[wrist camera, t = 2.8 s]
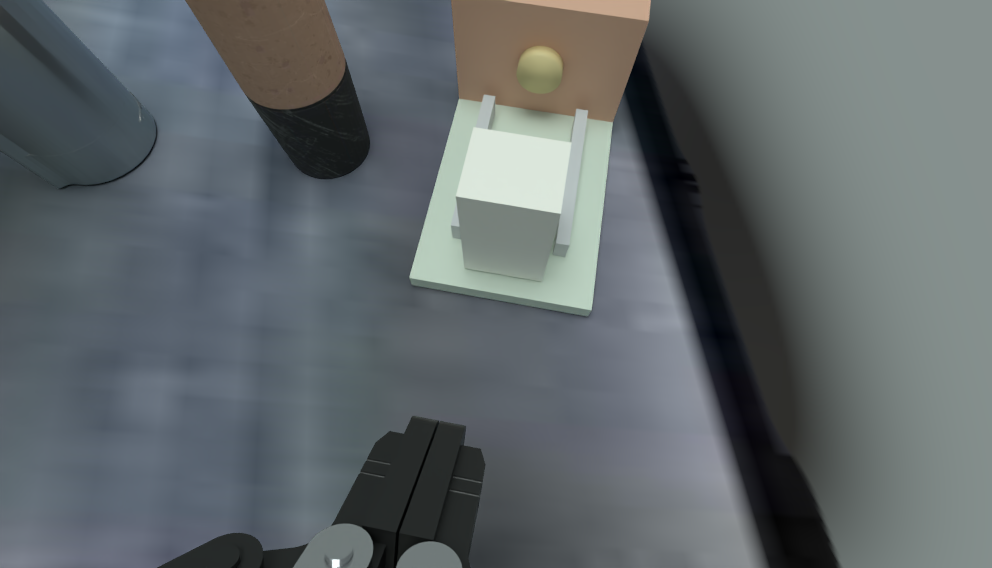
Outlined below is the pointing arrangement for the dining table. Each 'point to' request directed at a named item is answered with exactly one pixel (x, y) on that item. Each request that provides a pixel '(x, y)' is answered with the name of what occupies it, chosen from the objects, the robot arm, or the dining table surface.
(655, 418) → the dining table surface
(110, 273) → the dining table surface
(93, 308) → the dining table surface
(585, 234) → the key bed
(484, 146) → the white rectangular block
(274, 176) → the dining table surface
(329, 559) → the robot arm
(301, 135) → the travel mug
